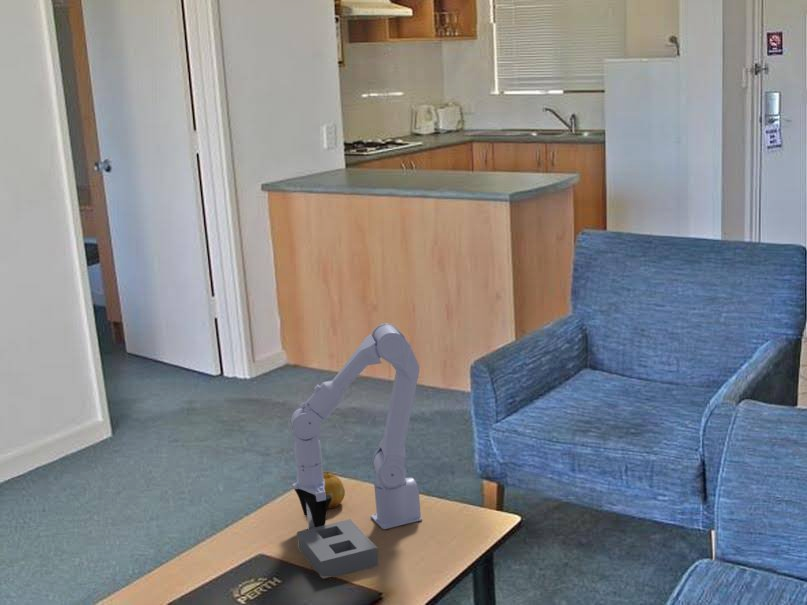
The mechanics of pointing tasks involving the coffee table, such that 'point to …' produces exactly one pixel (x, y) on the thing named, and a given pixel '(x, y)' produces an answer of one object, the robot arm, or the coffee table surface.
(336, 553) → the hole board
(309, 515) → the pin
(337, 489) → the fruit
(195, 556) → the coffee table surface
